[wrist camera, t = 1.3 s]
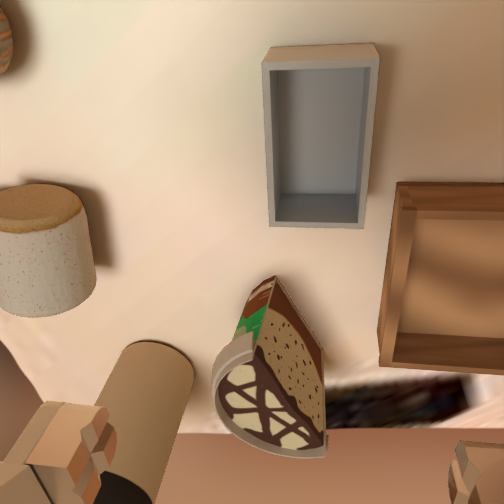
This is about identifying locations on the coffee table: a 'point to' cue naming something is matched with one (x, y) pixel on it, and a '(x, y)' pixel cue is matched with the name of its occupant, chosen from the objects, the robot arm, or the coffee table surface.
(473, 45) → the coffee table surface
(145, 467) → the travel mug
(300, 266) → the coffee table surface
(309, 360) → the food container
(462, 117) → the coffee table surface
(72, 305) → the ceramic mug
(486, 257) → the big crate
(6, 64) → the vase
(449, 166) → the coffee table surface
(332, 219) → the small crate
